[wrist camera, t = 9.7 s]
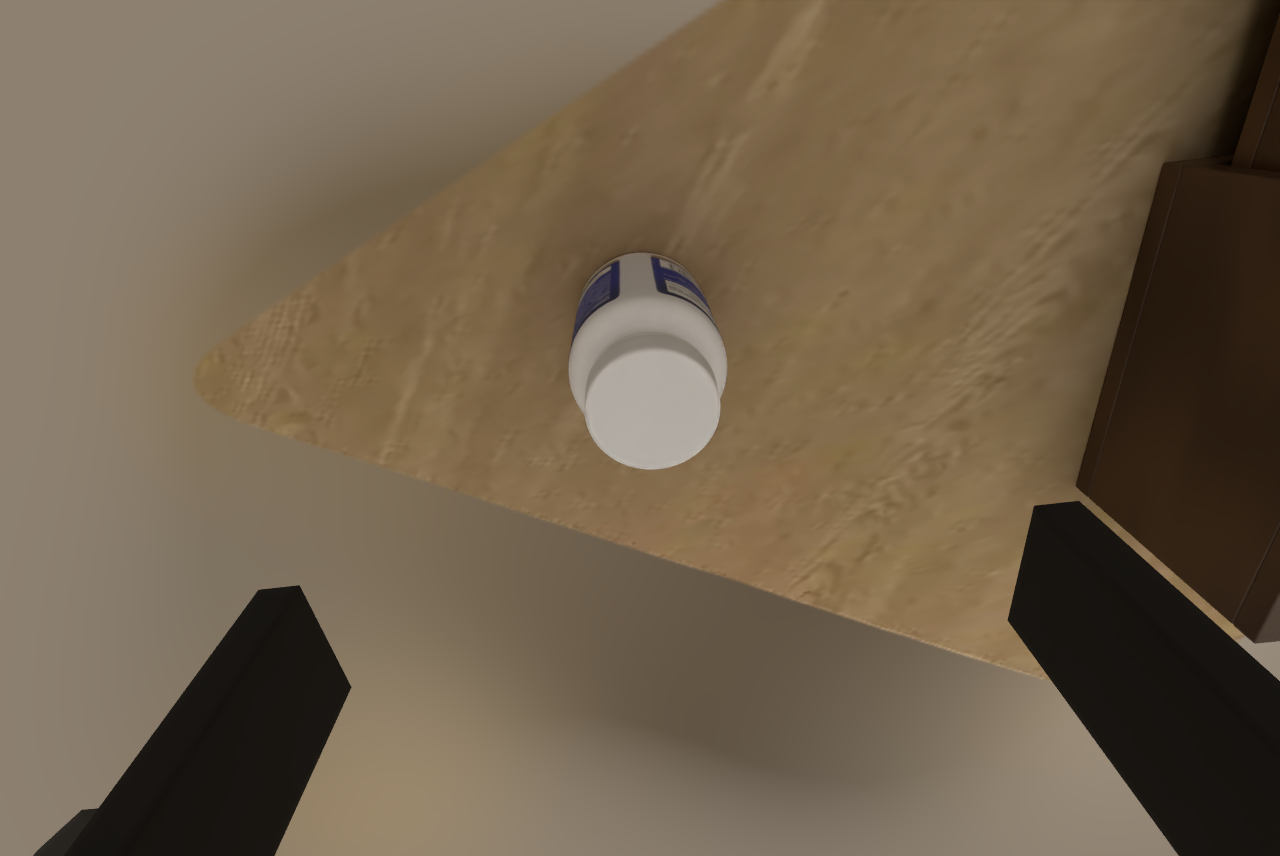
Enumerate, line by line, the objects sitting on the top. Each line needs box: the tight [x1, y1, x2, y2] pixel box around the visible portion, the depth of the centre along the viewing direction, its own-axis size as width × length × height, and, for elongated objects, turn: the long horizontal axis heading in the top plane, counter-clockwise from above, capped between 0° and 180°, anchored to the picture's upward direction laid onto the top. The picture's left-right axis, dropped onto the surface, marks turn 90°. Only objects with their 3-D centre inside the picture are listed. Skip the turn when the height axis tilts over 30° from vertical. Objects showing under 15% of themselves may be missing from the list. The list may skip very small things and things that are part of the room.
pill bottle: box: [568, 253, 727, 470], centre depth 22 cm, size 5×5×9 cm
